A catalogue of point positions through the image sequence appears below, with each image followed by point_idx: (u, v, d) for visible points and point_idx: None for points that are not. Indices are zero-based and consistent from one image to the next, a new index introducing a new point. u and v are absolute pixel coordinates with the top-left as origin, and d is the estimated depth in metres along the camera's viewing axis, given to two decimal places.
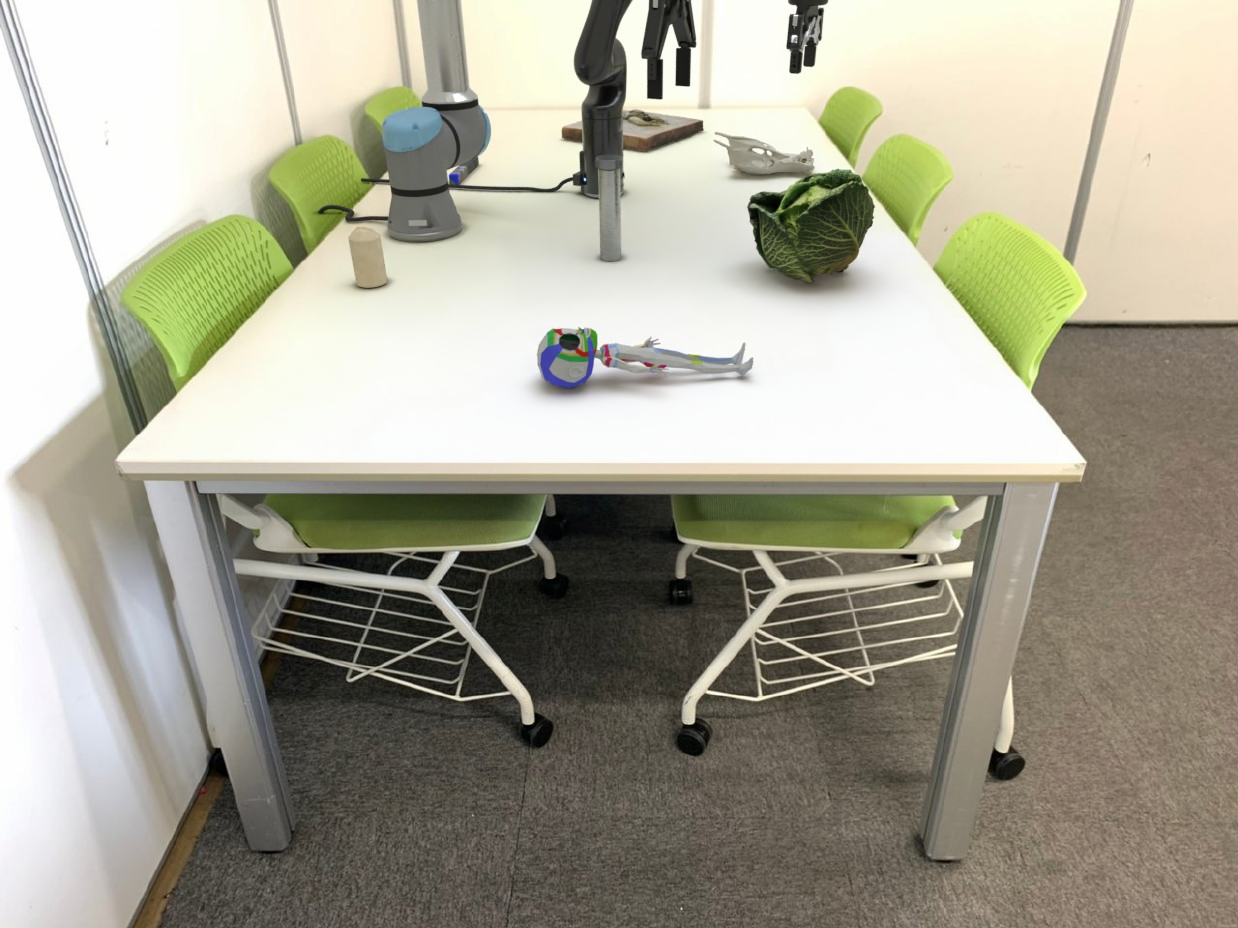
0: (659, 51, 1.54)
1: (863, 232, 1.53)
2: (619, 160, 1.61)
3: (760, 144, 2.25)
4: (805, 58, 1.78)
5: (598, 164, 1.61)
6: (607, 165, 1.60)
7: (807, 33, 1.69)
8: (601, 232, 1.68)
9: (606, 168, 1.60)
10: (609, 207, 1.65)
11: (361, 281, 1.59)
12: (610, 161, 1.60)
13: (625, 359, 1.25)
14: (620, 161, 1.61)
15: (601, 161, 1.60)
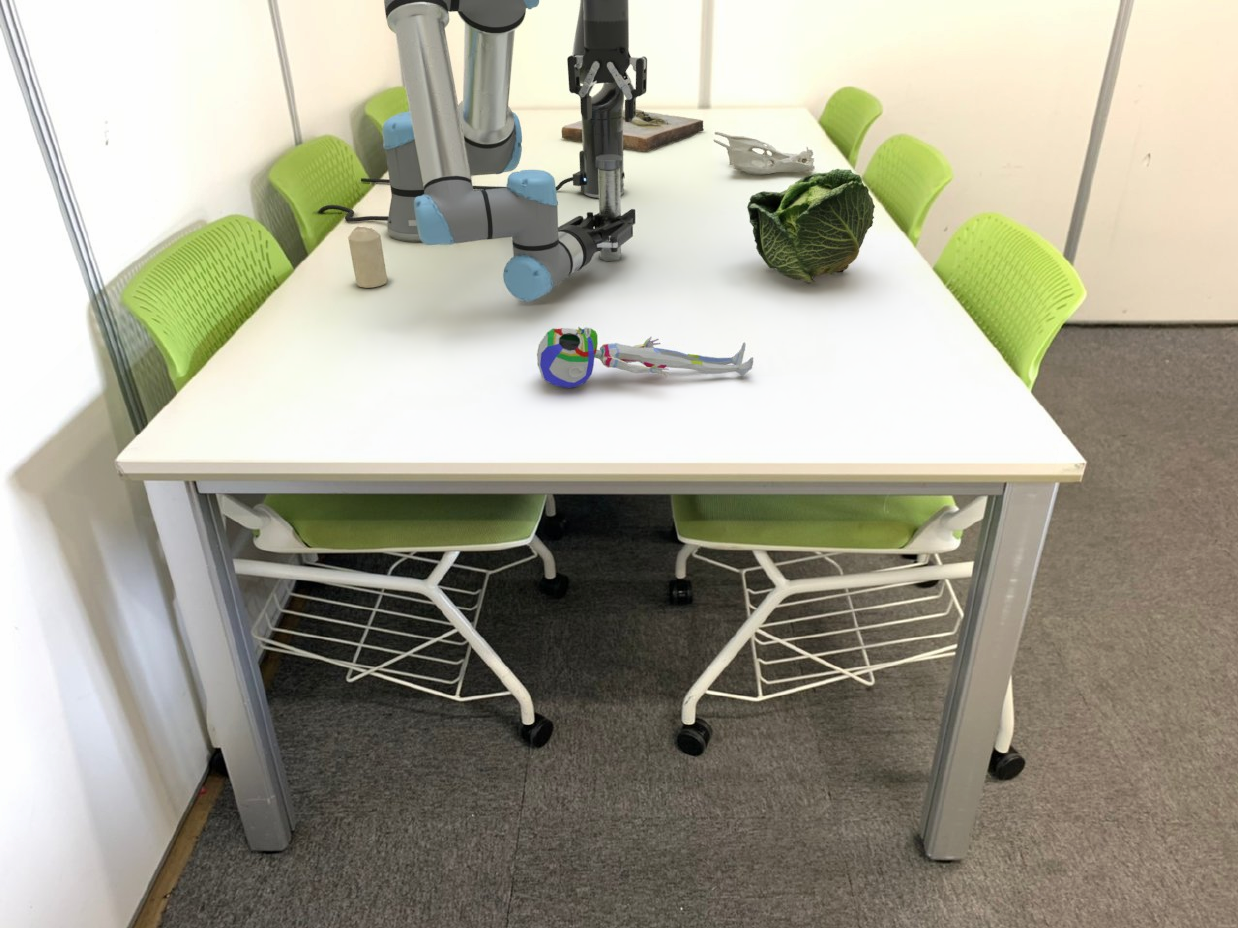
0: None
1: (863, 232, 1.53)
2: (619, 160, 1.61)
3: (760, 144, 2.25)
4: None
5: (598, 164, 1.61)
6: (607, 165, 1.60)
7: (586, 78, 1.54)
8: None
9: (606, 168, 1.60)
10: (609, 207, 1.65)
11: (361, 281, 1.59)
12: (610, 161, 1.60)
13: (625, 359, 1.25)
14: (620, 161, 1.61)
15: (601, 161, 1.60)
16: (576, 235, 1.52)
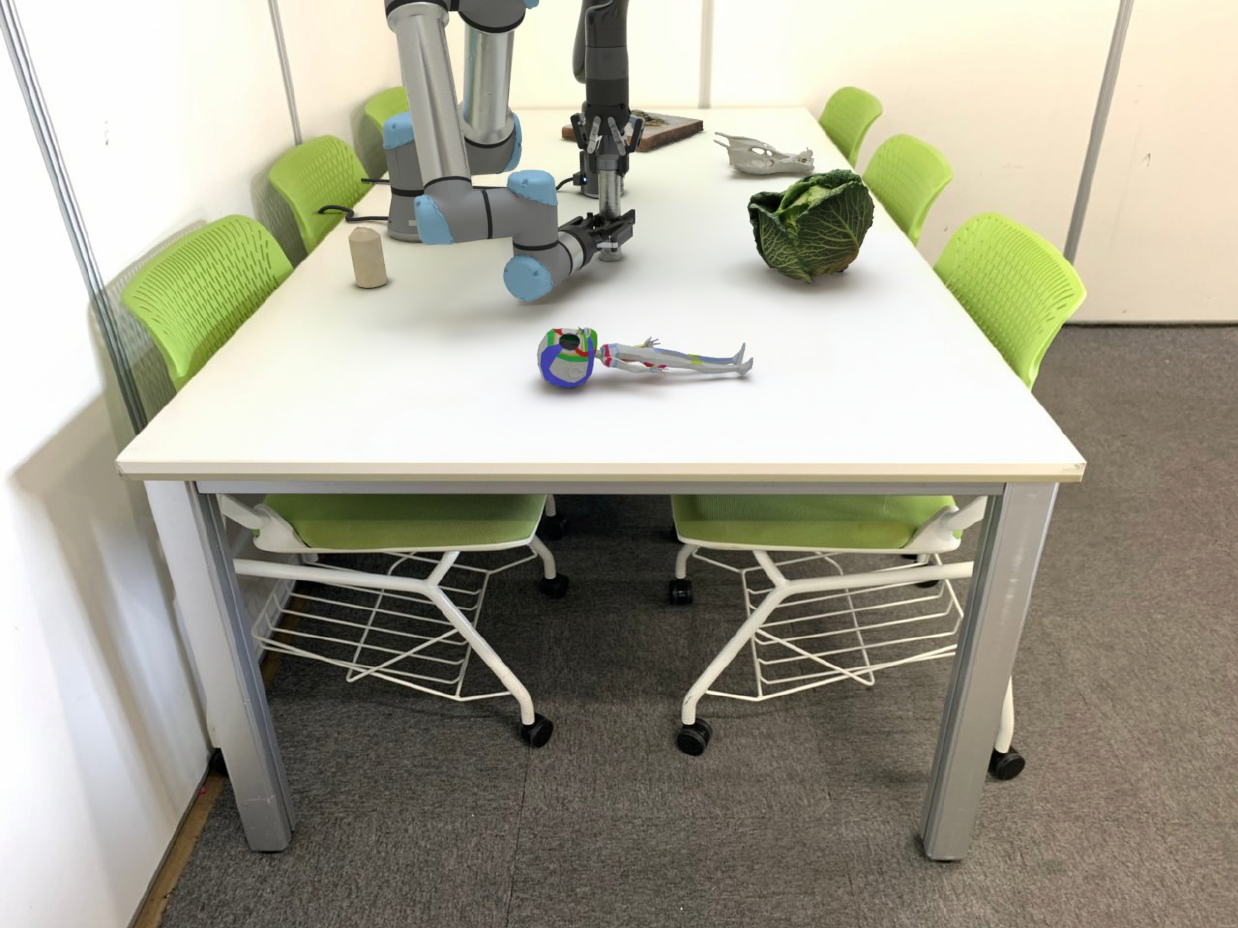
0: None
1: (863, 232, 1.53)
2: None
3: (760, 144, 2.25)
4: None
5: (598, 164, 1.61)
6: (607, 165, 1.60)
7: None
8: None
9: (606, 168, 1.60)
10: (609, 207, 1.65)
11: (361, 281, 1.59)
12: (610, 161, 1.60)
13: (625, 359, 1.25)
14: None
15: (601, 161, 1.60)
16: (576, 235, 1.52)
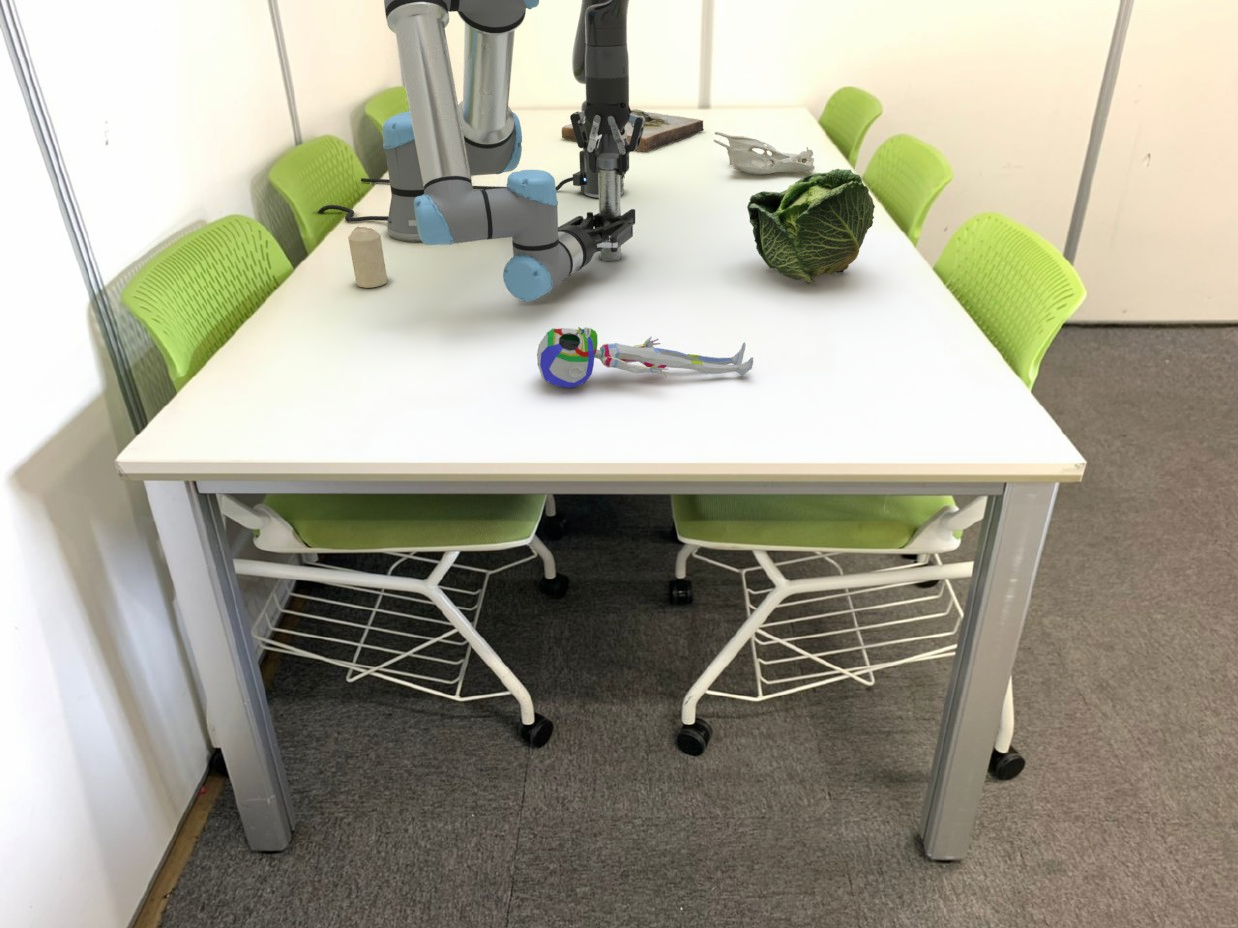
0: None
1: (863, 232, 1.53)
2: None
3: (760, 144, 2.25)
4: None
5: (614, 163, 1.60)
6: None
7: (590, 133, 1.59)
8: None
9: None
10: (609, 207, 1.65)
11: (361, 281, 1.59)
12: None
13: (625, 359, 1.25)
14: None
15: (618, 159, 1.60)
16: (575, 235, 1.52)
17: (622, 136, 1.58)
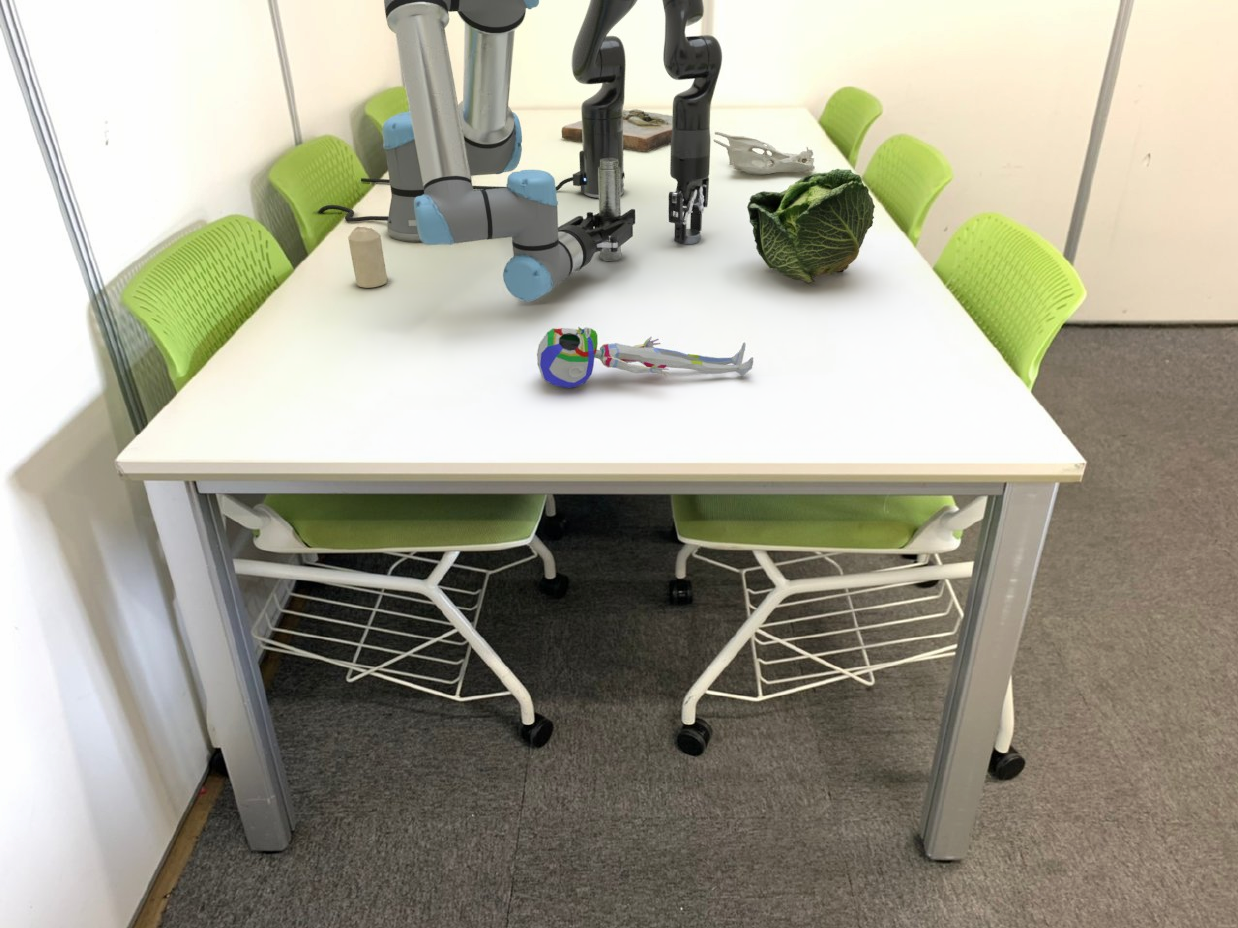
0: None
1: (863, 232, 1.53)
2: None
3: (760, 144, 2.25)
4: (692, 224, 1.81)
5: None
6: None
7: (689, 206, 1.73)
8: None
9: None
10: (609, 207, 1.65)
11: (361, 281, 1.59)
12: None
13: (625, 359, 1.25)
14: None
15: None
16: (575, 236, 1.52)
17: (699, 199, 1.78)
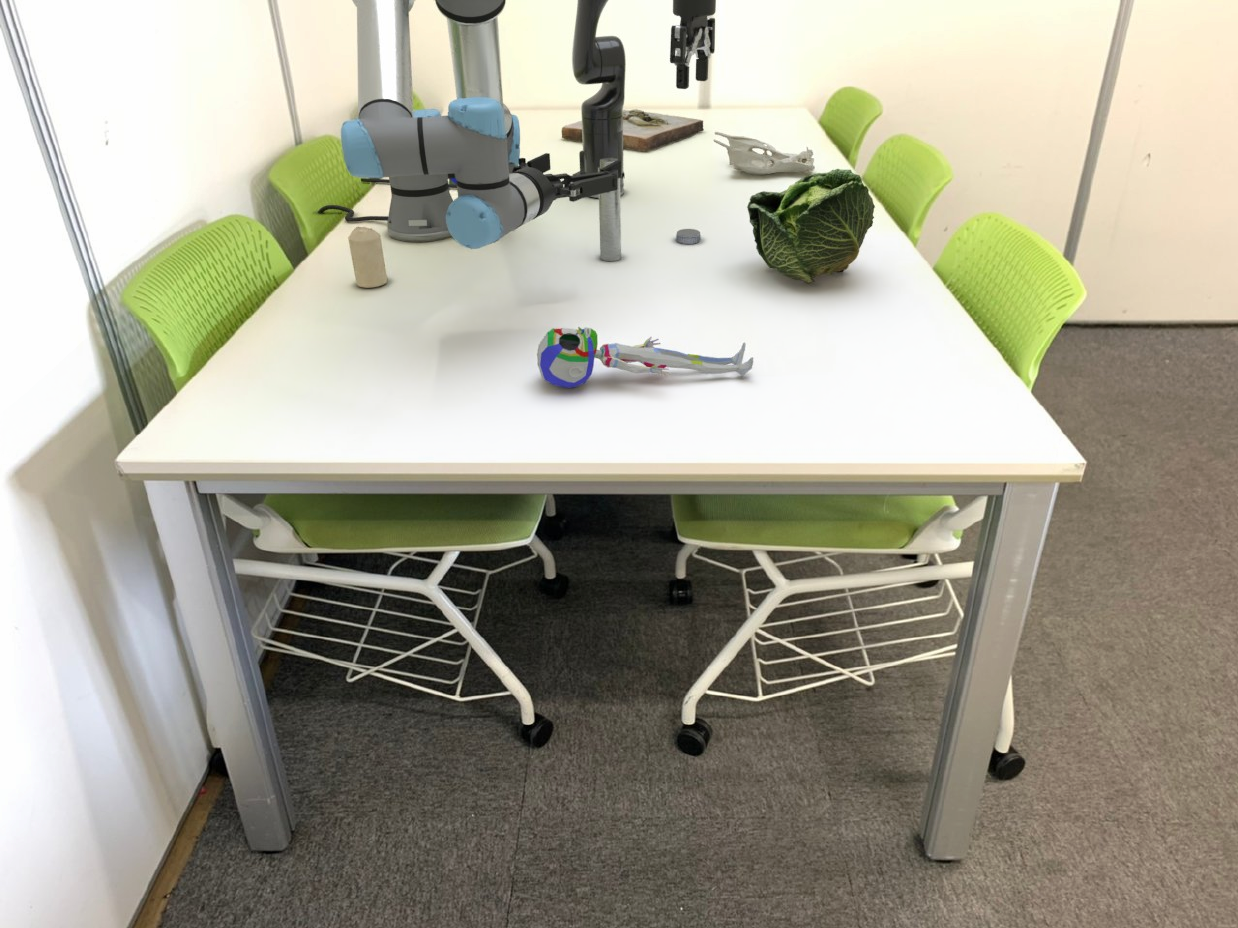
0: None
1: (863, 232, 1.53)
2: None
3: (760, 144, 2.25)
4: (697, 72, 1.67)
5: None
6: None
7: (693, 46, 1.57)
8: (601, 232, 1.68)
9: None
10: (608, 207, 1.65)
11: (361, 281, 1.59)
12: None
13: (625, 359, 1.25)
14: None
15: None
16: (531, 178, 1.35)
17: None
